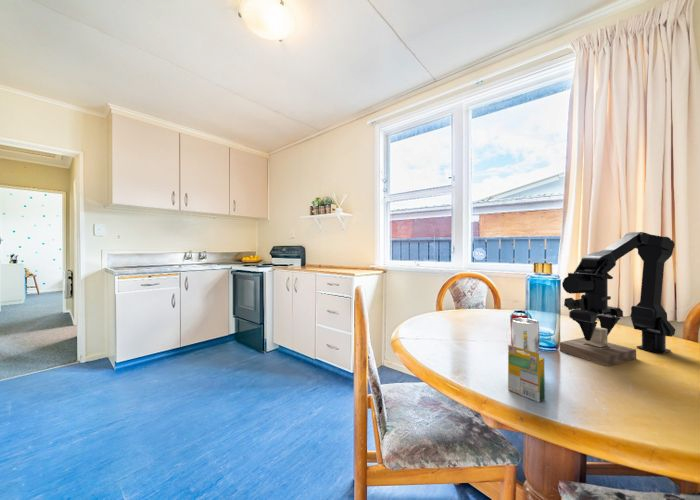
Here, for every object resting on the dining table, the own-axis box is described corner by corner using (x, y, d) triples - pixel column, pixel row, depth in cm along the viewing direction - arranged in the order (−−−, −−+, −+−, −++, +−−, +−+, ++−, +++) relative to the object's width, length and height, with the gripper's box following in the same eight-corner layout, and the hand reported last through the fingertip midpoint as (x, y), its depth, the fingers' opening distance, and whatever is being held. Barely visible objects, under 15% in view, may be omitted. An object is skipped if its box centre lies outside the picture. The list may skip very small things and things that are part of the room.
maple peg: (593, 351, 97) (593, 325, 97) (607, 355, 93) (607, 329, 93) (585, 353, 95) (585, 327, 95) (600, 357, 92) (600, 330, 92)
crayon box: (545, 399, 67) (545, 351, 67) (539, 403, 65) (539, 353, 65) (513, 386, 73) (513, 342, 73) (507, 390, 72) (507, 344, 71)
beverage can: (530, 350, 99) (530, 316, 99) (514, 349, 100) (514, 315, 100) (524, 345, 104) (524, 312, 104) (509, 344, 105) (509, 312, 105)
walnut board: (586, 344, 104) (586, 336, 104) (636, 358, 91) (636, 349, 91) (559, 350, 98) (559, 342, 98) (608, 366, 85) (608, 356, 85)
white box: (530, 379, 77) (530, 325, 77) (506, 369, 84) (506, 319, 83) (545, 373, 81) (544, 321, 80) (520, 364, 87) (520, 316, 87)
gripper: (585, 287, 105) (586, 329, 105) (552, 290, 98) (552, 335, 98) (623, 292, 95) (623, 338, 95) (589, 295, 88) (589, 345, 88)
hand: (596, 338), depth 94 cm, fingers open, 9 cm apart
